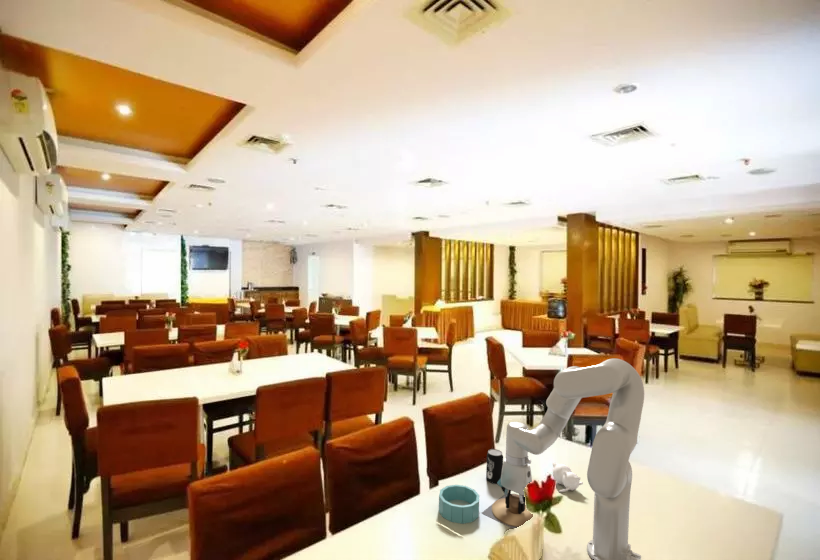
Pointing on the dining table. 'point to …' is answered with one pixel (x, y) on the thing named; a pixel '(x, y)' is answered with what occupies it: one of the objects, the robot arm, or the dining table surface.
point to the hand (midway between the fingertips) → (514, 508)
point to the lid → (510, 511)
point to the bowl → (459, 504)
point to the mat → (489, 513)
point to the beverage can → (494, 465)
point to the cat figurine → (565, 477)
